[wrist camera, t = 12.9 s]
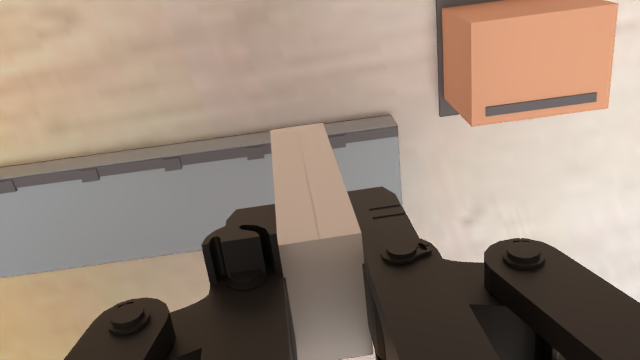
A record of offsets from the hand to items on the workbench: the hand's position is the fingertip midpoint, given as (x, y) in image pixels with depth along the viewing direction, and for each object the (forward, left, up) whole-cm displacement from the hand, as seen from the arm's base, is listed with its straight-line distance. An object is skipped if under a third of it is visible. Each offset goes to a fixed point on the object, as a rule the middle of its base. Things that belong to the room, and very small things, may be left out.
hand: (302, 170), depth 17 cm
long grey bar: (-6, -6, -13) cm, 15 cm away
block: (+10, 0, -13) cm, 16 cm away
